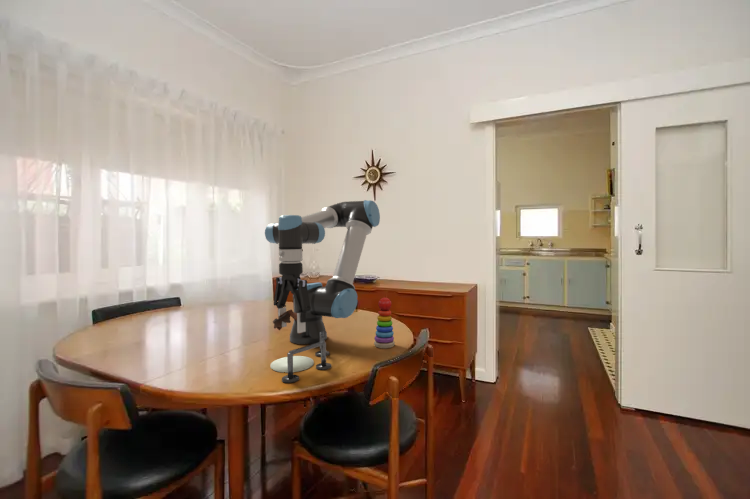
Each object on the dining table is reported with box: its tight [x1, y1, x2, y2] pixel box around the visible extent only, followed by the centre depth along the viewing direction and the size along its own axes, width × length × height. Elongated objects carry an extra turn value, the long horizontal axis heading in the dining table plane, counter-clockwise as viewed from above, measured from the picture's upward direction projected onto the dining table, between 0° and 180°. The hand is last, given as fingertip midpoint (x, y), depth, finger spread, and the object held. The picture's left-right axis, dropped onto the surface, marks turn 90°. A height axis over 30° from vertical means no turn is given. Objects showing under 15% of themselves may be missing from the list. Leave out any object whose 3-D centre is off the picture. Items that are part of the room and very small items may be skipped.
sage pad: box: [269, 355, 315, 374], centre depth 118 cm, size 14×14×1 cm
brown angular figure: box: [272, 309, 303, 334], centre depth 119 cm, size 12×10×8 cm
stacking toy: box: [373, 297, 396, 349], centre depth 137 cm, size 8×8×19 cm
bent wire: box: [281, 331, 332, 384], centre depth 117 cm, size 15×26×8 cm, turn 139°
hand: (291, 329), depth 118 cm, fingers closed on brown angular figure, 10 cm apart
